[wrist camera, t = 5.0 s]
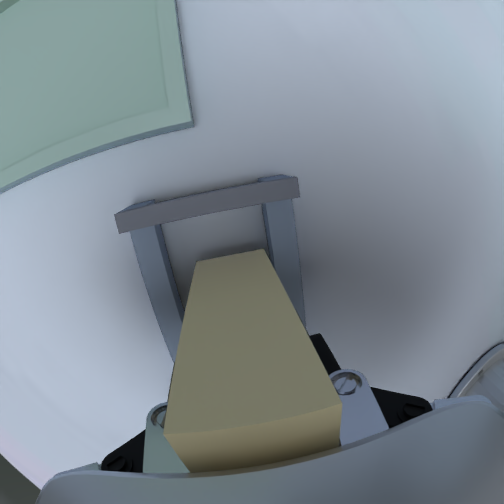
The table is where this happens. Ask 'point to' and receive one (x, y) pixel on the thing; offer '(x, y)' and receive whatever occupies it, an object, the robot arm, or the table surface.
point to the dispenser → (153, 214)
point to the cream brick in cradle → (246, 373)
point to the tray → (86, 80)
